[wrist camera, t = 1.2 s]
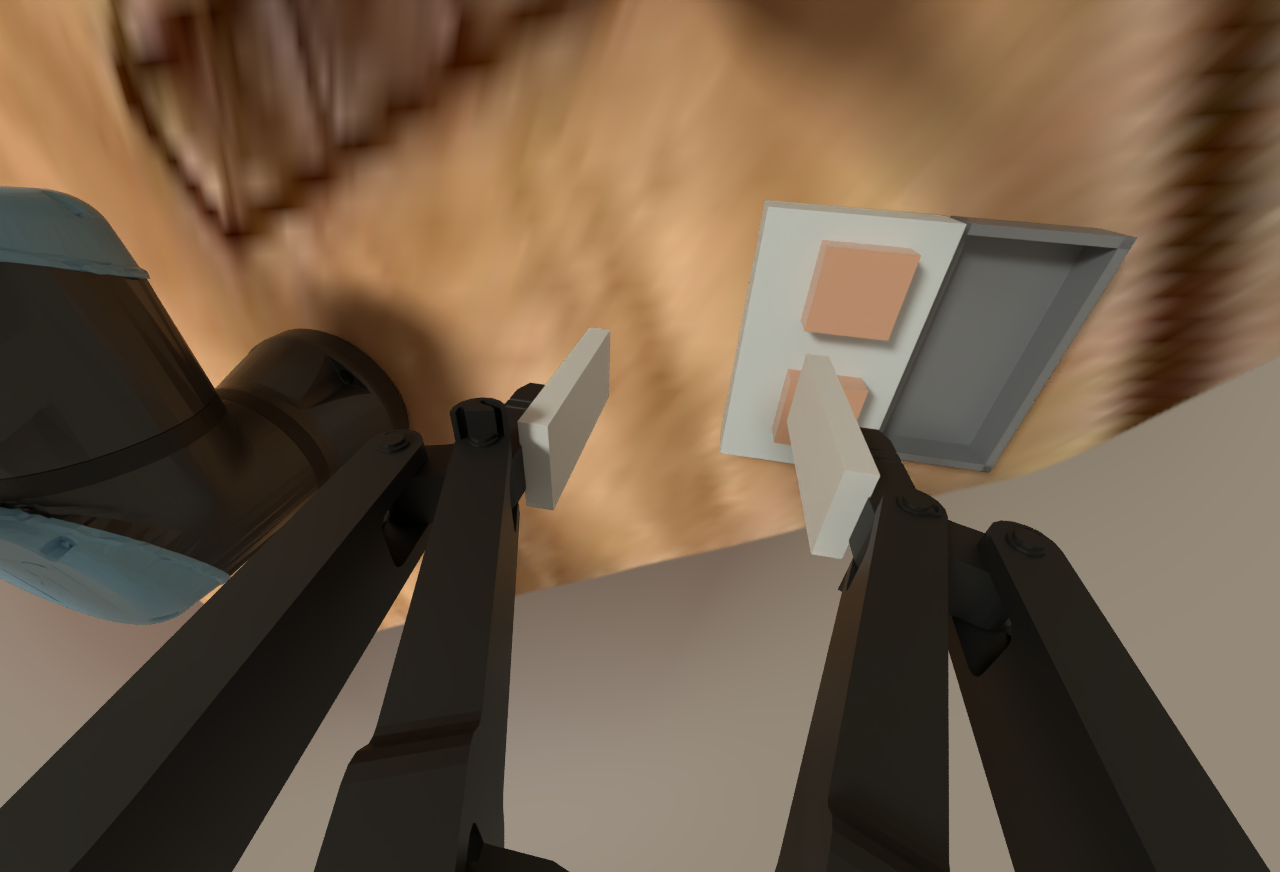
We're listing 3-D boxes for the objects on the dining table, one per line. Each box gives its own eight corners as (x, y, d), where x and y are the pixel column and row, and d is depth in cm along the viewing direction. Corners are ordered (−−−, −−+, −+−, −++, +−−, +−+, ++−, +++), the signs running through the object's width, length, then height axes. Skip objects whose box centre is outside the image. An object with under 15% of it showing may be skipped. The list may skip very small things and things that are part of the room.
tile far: (771, 428, 35) (773, 442, 33) (787, 368, 32) (790, 381, 30) (839, 437, 34) (844, 452, 32) (861, 377, 31) (868, 391, 30)
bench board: (721, 429, 39) (719, 452, 37) (764, 199, 29) (768, 206, 27) (850, 448, 38) (860, 473, 35) (943, 215, 28) (966, 224, 25)
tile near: (800, 320, 30) (804, 331, 28) (822, 239, 27) (827, 246, 25) (879, 329, 29) (887, 341, 28) (909, 247, 26) (921, 255, 25)
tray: (863, 434, 37) (871, 455, 35) (951, 215, 28) (972, 223, 26) (972, 449, 36) (989, 472, 34) (1100, 228, 27) (1137, 237, 25)
